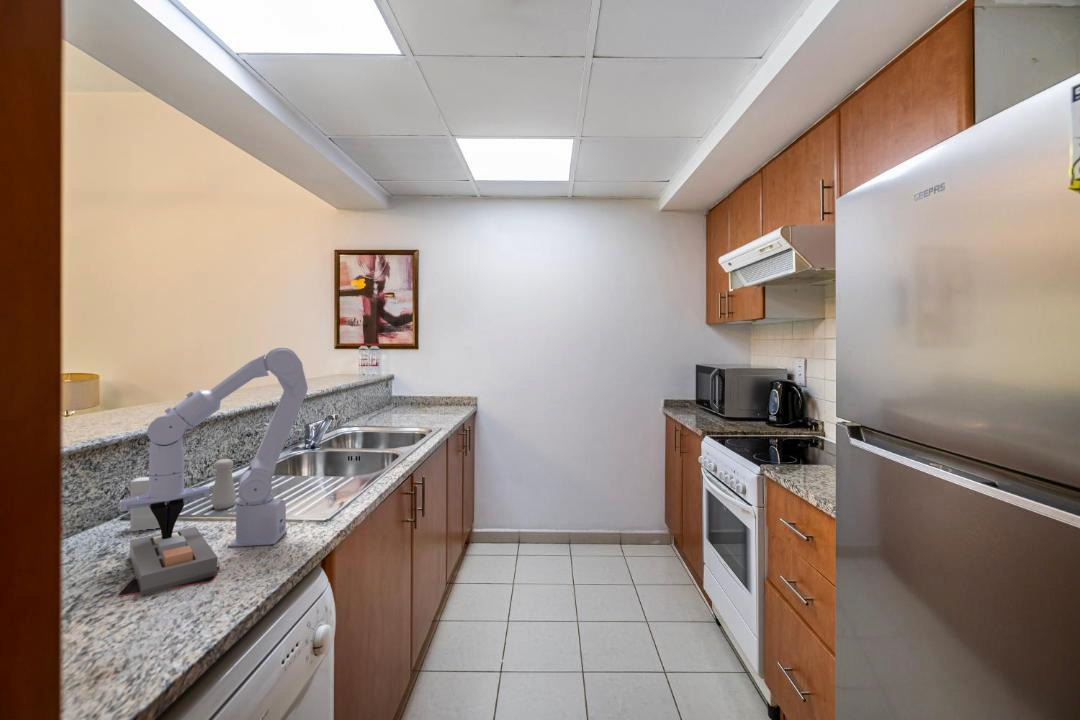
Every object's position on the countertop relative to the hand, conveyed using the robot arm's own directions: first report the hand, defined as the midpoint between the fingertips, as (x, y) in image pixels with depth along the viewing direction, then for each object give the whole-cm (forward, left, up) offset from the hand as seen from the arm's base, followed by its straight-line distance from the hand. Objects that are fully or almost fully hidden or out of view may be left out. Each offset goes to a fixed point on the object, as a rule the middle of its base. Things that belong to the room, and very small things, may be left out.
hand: (166, 537), depth 97 cm
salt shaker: (+3, -32, -4) cm, 32 cm away
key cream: (0, 0, -2) cm, 2 cm away
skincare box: (+13, -18, -4) cm, 23 cm away
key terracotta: (-8, +11, -1) cm, 14 cm away
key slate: (-4, +6, -1) cm, 7 cm away
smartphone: (-8, +12, -4) cm, 15 cm away
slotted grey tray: (-4, +6, -4) cm, 8 cm away
